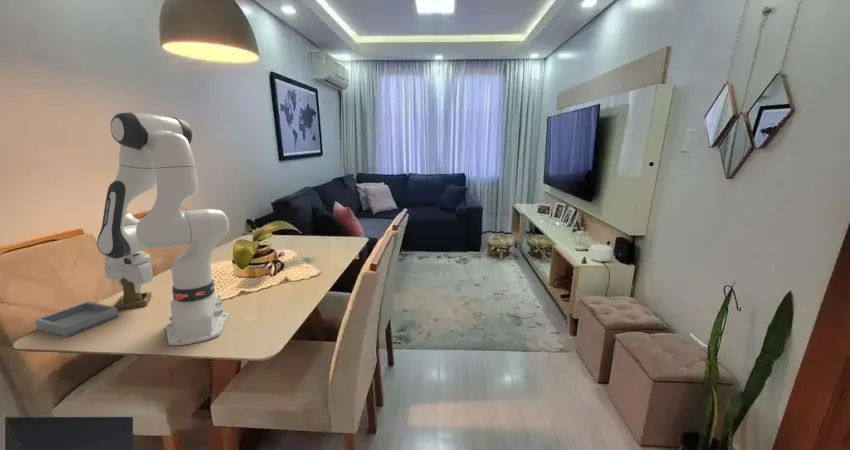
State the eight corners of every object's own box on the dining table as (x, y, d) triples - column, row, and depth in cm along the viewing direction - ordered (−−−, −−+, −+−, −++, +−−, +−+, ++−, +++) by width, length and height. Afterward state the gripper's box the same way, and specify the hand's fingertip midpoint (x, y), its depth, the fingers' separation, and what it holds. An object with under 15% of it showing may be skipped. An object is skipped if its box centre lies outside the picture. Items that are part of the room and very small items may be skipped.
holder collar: (146, 306, 139) (146, 301, 139) (114, 310, 135) (113, 305, 135) (151, 296, 148) (151, 291, 147) (121, 300, 144) (120, 295, 143)
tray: (118, 316, 131) (116, 307, 130) (67, 337, 117) (65, 327, 116) (89, 310, 135) (88, 301, 135) (37, 329, 122) (34, 319, 121)
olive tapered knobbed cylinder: (133, 307, 137) (128, 279, 135) (119, 306, 138) (113, 278, 136) (147, 300, 143) (142, 273, 141) (134, 299, 144) (129, 272, 142)
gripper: (96, 256, 137) (103, 291, 140) (136, 261, 131) (142, 297, 134) (114, 251, 143) (120, 285, 146) (153, 256, 137) (159, 291, 140)
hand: (131, 291), depth 140 cm, fingers closed on olive tapered knobbed cylinder, 4 cm apart
